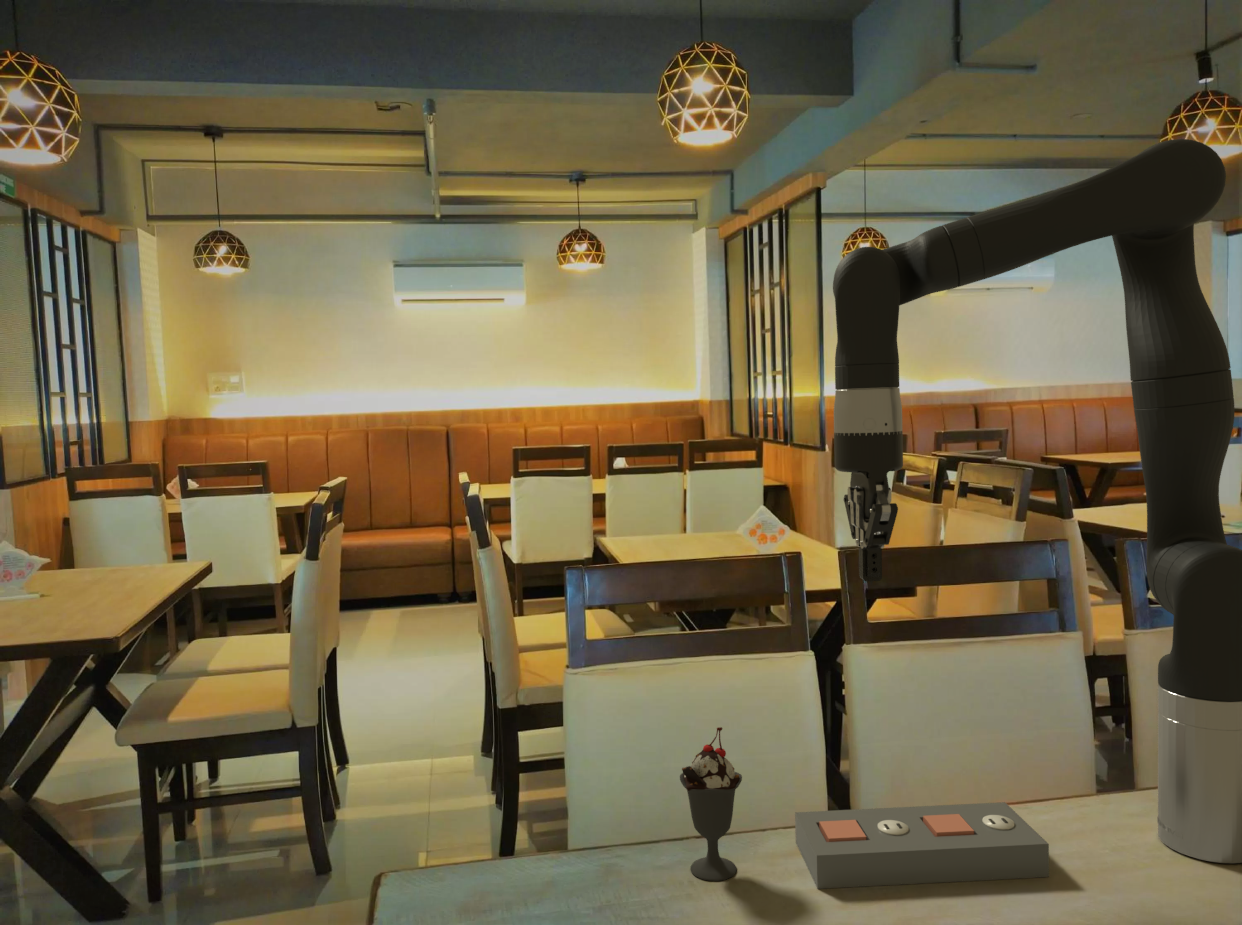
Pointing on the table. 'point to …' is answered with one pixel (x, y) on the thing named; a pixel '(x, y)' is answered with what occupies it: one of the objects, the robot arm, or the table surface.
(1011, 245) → the robot arm
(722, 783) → the sundae
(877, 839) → the power strip
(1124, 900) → the table surface
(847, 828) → the switch
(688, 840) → the table surface
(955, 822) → the switch
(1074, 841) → the table surface
